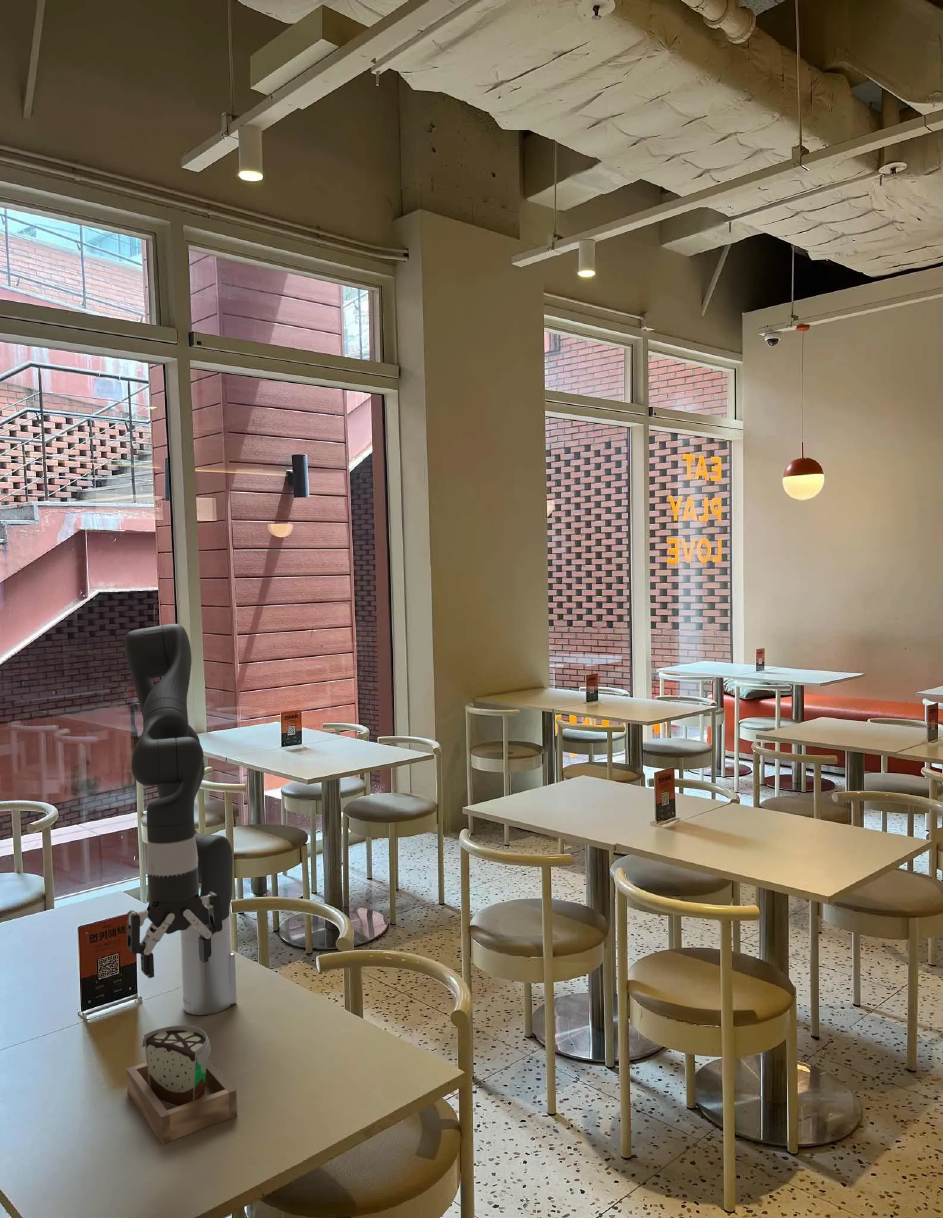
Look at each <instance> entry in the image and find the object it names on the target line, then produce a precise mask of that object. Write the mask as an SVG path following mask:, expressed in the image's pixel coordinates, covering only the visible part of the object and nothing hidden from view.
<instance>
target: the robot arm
mask: <svg viewBox="0 0 943 1218" xmlns="http://www.w3.org/2000/svg"><path fill="white" fill-rule="evenodd" d="M191 648H192V647H191V644H190V640H189V636H188V633H187V630H186V629H185V628H184V626H182V625H181V624H179V623H168V624H162V625H156V626H150V627H145V628H140V629H139V628H138V629H134V630H131V631H129V632H128V633H127V634H126V635H125V638H124V650H125V656H126V661H127V665H128V667H129V669H128V670H129V672H130V676H131V679H132V682H133V686H134V689H135V693H136V698H137V700H138V703H139V708H140V712H141V716H142V722H143V723H142V729H143V730H142V732H141V735H140V737H139V739H138V741H137V742H136V745H135V746H134V747H135V748H134V750H133V753H132V756H131V773H132V776H133V777H134V779H135V780H136V781H137V783H139V784H140V785H142V786H146V787H147V786H148V787H150V786H151V787H154V786H156V789H157V792H158V799H156V800H154V801H151V802H150V803H149V804H148V805H147V807H146V831H147V832H146V834H147V837H146V838H147V846H146V847H147V848H146V869H147V871H146V873H147V891H148V892H147V893H148V894H147V895H148V897H147V898H148V906H147V908H146V909H144V910H141V911H135V910H129V911H128V912H127V915H126V916H127V919H126V920H127V921H126V923H127V924H126V948H127V949H128V950H129V951H130V952H131V953H132V954H133V955H138V954H140V971H141V972H142V973H143V974H144V975H145V976H146V977H148V979H152V978H154V977H155V963H154V959H155V958H154V953H153V950H154V949H155V947H156V945H157V944H158V942H160V941H161V940H162V938H163V936H164V935H165V934H167V935H170V934H173V933H174V934H175V932H177V931H180V946H181V948H180V949H181V953H180V954H181V973H182V974H181V975H182V977H181V978H182V1000H183V1001H182V1003H183V1010H184V1012H186V1013H188V1014H190V1015H194V1016H205V1015H212V1014H216V1013H219V1012H222V1011H224V1010H226V1009H227V1008H229V1007H230V1006H231V1004H232V1005H234V1004H237V1002H238V1001H237V1000H238V998H237V997H238V996H237V977H236V976H237V974H236V971H237V970H236V955H235V953H233V952H232V947H231V946H232V945H231V944H232V943H231V941H232V940H231V919H230V917H231V916H230V914H231V913H230V906H231V901H232V896H233V868H234V867H233V864H234V863H233V862H234V861H233V859H234V858H233V850H232V849H233V848H232V846H231V845H232V844H231V843H230V841H229V839H227V837H225V836H224V835H217V834H208V833H198V832H197V830H196V828H195V801H196V800H195V799H196V796H197V794H198V792H199V790H200V788H201V786H202V783H203V779H204V776H205V771H206V770H205V769H206V768H205V767H206V766H205V761H204V757H205V756H204V750H203V747H202V745H201V741H200V738H199V735H198V733H197V732H196V731H195V729H194V728H193V727H192V726H191V725H190V724H189V715H188V692H189V686H190V680H191V670H192V663H193V662H192V661H193V660H192V658H193V657H192V649H191ZM157 678H161V679H160V680H159V681H158V682H157V683H156V684H155V683H154V681H153V679H157ZM199 886H200V887H199ZM199 893H200V894H199ZM146 919H148V920H149V921H150V922H151V923H150V925H149V927H148V928H147V929H146V931H145V936H144V937H143V939H142V940H141V937H140V936H141V927H142V926H143V925H145V924H144V923H145V920H146Z"/></svg>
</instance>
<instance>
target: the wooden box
mask: <svg viewBox="0 0 943 1218" xmlns="http://www.w3.org/2000/svg"><path fill="white" fill-rule="evenodd" d="M126 1085H127V1086H126V1087H127V1091H126V1092H127V1095H128V1096H129V1097H130V1099H131V1100H132V1102H133V1103H134V1105H135V1106H136V1107H137V1109H138V1111H139V1112H140V1114H141V1115H142V1116H143V1117H144V1119H145V1121H146V1122H147V1124H148V1125H149V1126H150V1128H151V1130H152V1131H153V1132H154V1134H155V1135H156V1137H157V1138H158V1140H159V1141H160V1142H161V1144H162V1145H165V1144H167V1143H169V1142H172V1141H174V1140H176V1139H177V1140H178V1139H179V1138H183V1137H185V1136H187V1135H190V1134H192V1133H196V1132H198V1131H201V1130H203V1129H206V1128H208V1127H211V1126H213V1125H214V1126H215V1125H217V1124H219V1123H221V1122H225V1121H227V1120H230V1119H232V1118H235V1117H238V1105H237V1103H238V1101H237V1089H236V1088H235V1087H234V1086H233V1084H231V1082H230V1081H228V1079H227V1078H226V1077H225V1076H224V1075H223V1074H222V1073H221V1072H220V1070H219V1069H218V1068H217V1067H216V1066H215V1065H214V1064H213V1063H212V1062H211V1060H209V1057H207V1059H206V1076H205V1096H204V1097H203V1098H200V1099H198V1100H195V1101H192V1102H189V1103H187V1104H184V1105H181V1106H178V1107H176V1108H175V1107H172V1106H170V1105H167V1104H164V1103H161V1102H160V1100H159V1099H158V1098H157V1096H156V1095H155V1094H154V1092H153V1091H152V1090H151V1088H150V1087H149V1079H148V1070H147V1061H146V1062H143V1063H139V1064H136V1065H134V1066H131V1067H128V1068H126Z"/></svg>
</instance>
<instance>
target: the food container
mask: <svg viewBox="0 0 943 1218" xmlns="http://www.w3.org/2000/svg"><path fill="white" fill-rule="evenodd" d="M141 1043H142V1045H141V1048H145V1049H144V1050H145V1060H146V1062H147V1070H148V1079H149V1087H150V1088H151V1090H152V1091H153V1092H154V1094H155V1095H156V1096H157V1098H158V1099H159V1100H160V1102H161V1103H164V1104H167V1105H170V1106H172V1107H175V1108H176V1107H178V1106H181V1105H184V1104H187V1103H189V1102H192V1101H195V1100H198V1099H200V1098H203V1097H204V1096H205V1076H206V1059H207V1058H209V1056H210V1055H211V1051H212V1047H211V1042H210V1040H209V1037H208V1035H207V1033H206V1032H205V1031H204V1029H201V1028H200V1027H197V1026H193V1025H185V1024H184V1025H182V1024H181V1025H173V1026H172V1025H170V1026H165V1027H161V1028H158V1029H157V1028H156V1029H154V1030H151V1031H149V1032H148V1033H146V1034H143V1038H142V1042H141Z"/></svg>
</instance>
